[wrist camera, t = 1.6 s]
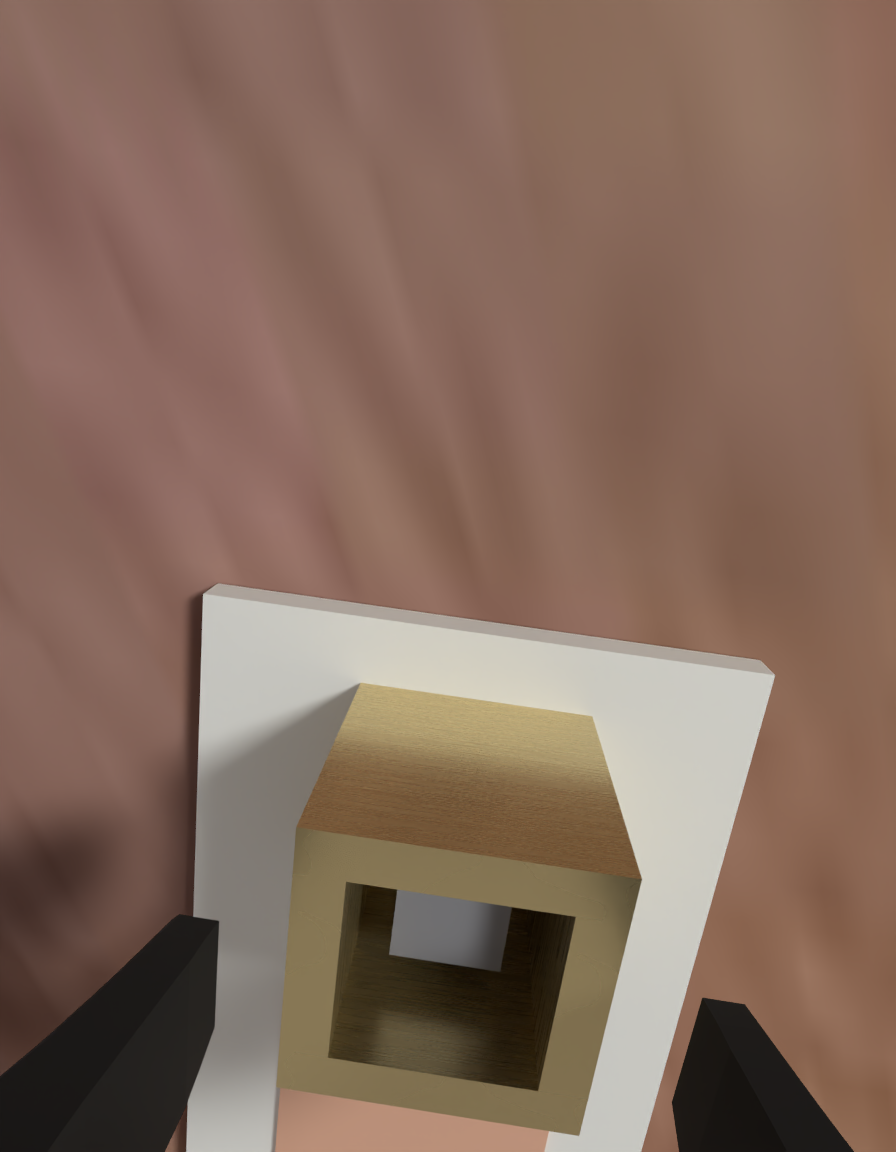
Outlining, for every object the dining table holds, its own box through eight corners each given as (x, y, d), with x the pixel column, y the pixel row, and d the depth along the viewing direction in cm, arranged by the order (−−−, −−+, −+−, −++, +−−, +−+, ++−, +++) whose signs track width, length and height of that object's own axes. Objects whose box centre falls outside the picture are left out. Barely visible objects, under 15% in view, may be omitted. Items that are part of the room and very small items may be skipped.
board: (196, 1166, 20) (119, 1369, 16) (218, 583, 15) (114, 657, 11) (604, 1233, 20) (633, 1459, 15) (760, 660, 15) (864, 766, 11)
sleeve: (341, 876, 16) (275, 1087, 11) (361, 682, 15) (296, 827, 10) (552, 908, 16) (579, 1136, 11) (592, 716, 14) (642, 879, 10)
